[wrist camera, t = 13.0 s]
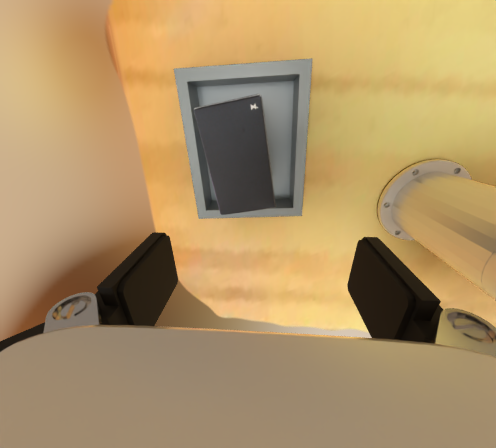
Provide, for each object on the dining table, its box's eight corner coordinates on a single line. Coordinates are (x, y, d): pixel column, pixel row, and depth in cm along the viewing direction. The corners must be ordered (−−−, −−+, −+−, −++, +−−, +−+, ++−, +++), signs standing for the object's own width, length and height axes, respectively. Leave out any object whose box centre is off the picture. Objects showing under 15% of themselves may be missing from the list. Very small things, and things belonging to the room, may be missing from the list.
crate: (302, 69, 26) (312, 58, 21) (296, 203, 33) (301, 215, 29) (188, 77, 27) (173, 68, 22) (206, 205, 34) (198, 218, 30)
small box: (212, 111, 27) (188, 105, 18) (262, 100, 27) (264, 89, 17) (229, 189, 32) (217, 217, 22) (272, 182, 31) (278, 208, 22)
